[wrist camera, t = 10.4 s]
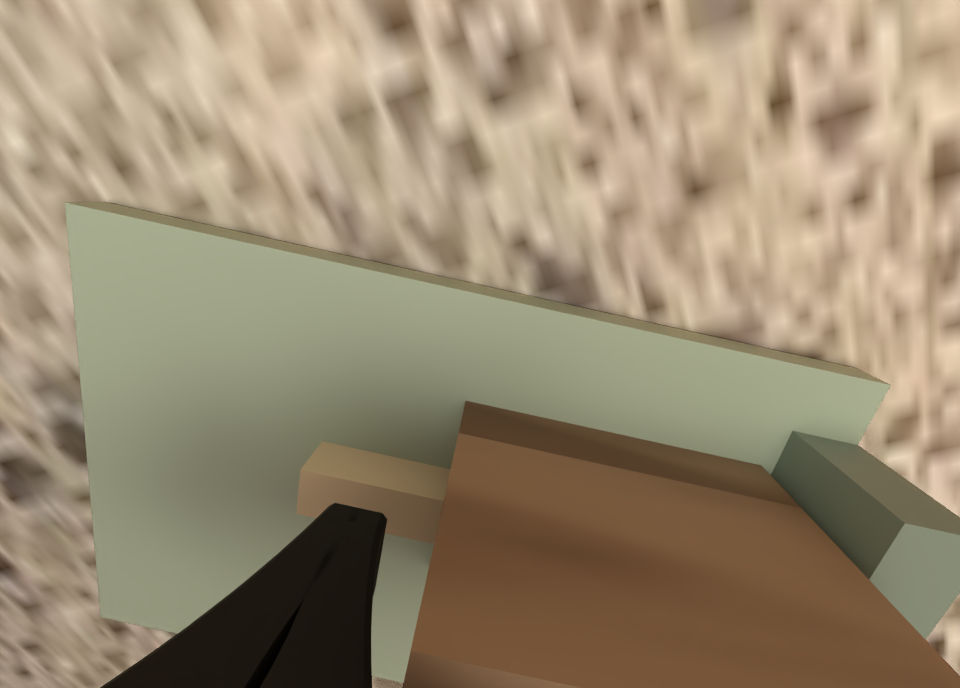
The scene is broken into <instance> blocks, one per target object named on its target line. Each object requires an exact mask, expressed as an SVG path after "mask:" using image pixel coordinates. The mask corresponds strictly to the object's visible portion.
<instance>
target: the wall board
mask: <svg viewBox="0 0 960 688" xmlns="http://www.w3.org/2000/svg"><path fill="white" fill-rule="evenodd" d="M65 209H66V221H67V232H68V244H69V255H70V267H71V278H72V290H73V302H74V313H75V325H76V336H77V348H78V360H79V371H80V383H81V394H82V406H83V417H84V429H85V441H86V452H87V464H88V475H89V487H90V499H91V510H92V522H93V533H94V545H95V556H96V568H97V580H98V591H99V603H100V614H101V617H102V618H107V619H111V620H116V621H121V622H125V623H130V624H134V625H139V626H144V627H148V628H153V629H157V630H162V631H167V632H171V633H176V634H178V633H179V632H181V631H182V630H183V629H185V628H186V627H187V626H189V625H190V624H191V623H192V622H194V621H195V620H196V619H198V618H199V617H200V616H202V615H203V614H204V613H205V612H207V611H208V610H209V609H211V608H212V607H213V606H214V605H216V604H217V603H218V602H220V601H221V600H222V599H223V598H225V597H226V596H227V595H229V594H230V593H231V592H232V591H234V590H235V589H236V588H237V587H239V586H240V585H241V584H242V583H244V582H245V581H246V580H247V579H248V578H249V577H251V576H252V575H253V574H254V573H255V572H257V571H258V570H259V569H260V568H261V567H262V566H264V565H265V564H266V563H267V562H268V561H270V560H271V559H272V558H273V557H274V556H275V555H277V554H278V553H279V552H280V551H281V550H282V549H283V548H285V547H286V546H287V545H288V544H289V543H290V542H291V541H292V540H293V539H295V538H296V537H297V536H298V535H299V534H300V533H301V532H302V531H303V530H304V529H305V528H307V527H308V526H309V525H310V524H311V523H312V522H313V521H314V520H315V519H316V518H317V517H318V516H319V515H320V514H321V513H322V512H323V511H324V510H325V509H326V508H327V507H328V506H330V505H332V504H333V503H339V504H343V505H348V506H352V507H357V508H362V509H366V510H371V511H375V512H380V513H383V514H384V516H385V517H386V518H387V524H386V530H385V536H384V541H383V547H382V553H381V559H380V564H379V570H378V576H377V582H376V587H375V592H374V595H373V603H372V624H371V667H372V676H374V677H378V678H383V679H388V680H392V681H397V682H401V683H404V678H405V674H406V669H407V665H408V660H409V656H410V651H411V647H412V642H413V637H414V633H415V628H416V624H417V619H418V615H419V610H420V606H421V601H422V597H423V592H424V588H425V583H426V578H427V574H428V569H429V565H430V560H431V556H432V551H433V547H434V542H435V538H436V533H437V528H438V524H439V519H440V515H441V510H442V506H443V501H444V497H445V492H446V488H447V483H448V479H449V474H450V469H451V465H452V460H453V456H454V451H455V447H456V442H457V438H458V433H459V429H460V424H461V419H462V415H463V410H464V406H465V401H470V402H475V403H479V404H484V405H489V406H493V407H498V408H502V409H507V410H511V411H516V412H520V413H525V414H530V415H534V416H539V417H543V418H548V419H552V420H557V421H561V422H566V423H571V424H575V425H580V426H584V427H589V428H593V429H598V430H602V431H607V432H612V433H616V434H621V435H625V436H630V437H634V438H639V439H643V440H648V441H653V442H657V443H662V444H666V445H671V446H675V447H680V448H685V449H689V450H694V451H698V452H703V453H707V454H712V455H716V456H721V457H726V458H730V459H735V460H739V461H744V462H748V463H753V464H757V465H762V467H763V468H764V469H765V470H766V471H767V472H768V473H769V474H770V475H771V476H772V477H773V478H774V479H775V480H776V481H777V482H778V484H779V485H780V486H781V487H782V488H783V489H784V490H785V491H786V492H787V493H788V494H789V495H790V496H791V497H792V498H793V499H794V501H795V502H796V503H797V504H798V505H799V506H800V507H801V508H802V509H803V510H804V511H805V512H806V513H807V514H808V515H809V516H810V518H811V519H812V520H813V521H814V522H815V523H816V524H817V525H818V526H819V527H820V528H821V529H822V530H823V531H824V532H825V533H826V535H827V536H828V537H829V538H830V539H831V540H832V541H833V542H834V543H835V544H836V545H837V546H838V547H839V548H840V549H841V550H842V552H843V553H844V554H845V555H846V556H847V557H848V558H849V559H850V560H851V561H852V562H853V563H854V564H855V565H856V566H857V567H858V569H859V570H860V571H861V572H862V573H863V574H864V575H865V576H866V577H867V578H868V579H869V580H870V581H871V582H872V583H873V584H874V586H875V587H876V588H877V589H878V590H879V591H880V592H881V593H882V594H883V595H884V596H885V597H886V598H887V599H888V600H889V601H890V603H891V604H892V605H893V606H894V607H895V608H896V609H897V610H898V611H899V612H900V613H901V614H902V615H903V616H904V617H905V618H906V620H907V621H908V622H909V623H910V624H911V625H912V626H913V627H914V628H915V629H916V630H917V631H918V632H919V633H920V634H921V635H922V637H923V638H924V639H925V640H926V638H927V637H928V636H929V634H930V633H931V632H932V630H933V629H934V627H935V626H936V625H937V623H938V622H939V621H940V619H941V618H942V617H943V615H944V614H945V612H946V611H947V610H948V608H949V607H950V606H951V604H952V603H953V601H954V600H955V599H956V597H957V596H958V595H959V593H960V517H958V516H957V515H955V514H954V513H953V512H951V511H950V510H948V509H947V508H946V507H944V506H943V505H941V504H940V503H939V502H937V501H936V500H934V499H933V498H932V497H930V496H929V495H927V494H926V493H924V492H923V491H922V490H920V489H919V488H917V487H916V486H915V485H913V484H912V483H910V482H909V481H908V480H906V479H905V478H903V477H902V476H901V475H899V474H898V473H896V472H895V471H894V470H892V469H891V468H889V467H888V466H886V465H885V464H884V463H882V462H881V461H879V460H878V459H877V458H875V457H874V456H872V455H871V454H870V453H868V452H867V451H865V450H864V449H863V448H861V447H860V446H858V444H859V442H860V440H861V438H862V436H863V435H864V433H865V431H866V429H867V427H868V426H869V424H870V422H871V420H872V418H873V417H874V415H875V413H876V411H877V409H878V408H879V406H880V404H881V402H882V400H883V399H884V397H885V395H886V393H887V391H888V390H889V388H890V386H891V385H890V384H888V383H886V382H884V381H882V380H880V379H877V378H875V377H873V376H871V375H869V374H867V373H865V372H863V371H861V370H859V369H857V368H853V367H849V366H844V365H840V364H835V363H831V362H826V361H822V360H817V359H813V358H808V357H804V356H799V355H795V354H790V353H785V352H781V351H776V350H772V349H767V348H763V347H758V346H754V345H749V344H745V343H740V342H736V341H731V340H727V339H722V338H718V337H713V336H709V335H704V334H700V333H695V332H691V331H686V330H681V329H677V328H672V327H668V326H663V325H659V324H654V323H650V322H645V321H641V320H636V319H632V318H627V317H623V316H618V315H614V314H609V313H605V312H600V311H596V310H591V309H586V308H582V307H577V306H573V305H568V304H564V303H559V302H555V301H550V300H546V299H541V298H537V297H532V296H528V295H523V294H519V293H514V292H510V291H505V290H501V289H496V288H492V287H487V286H482V285H478V284H473V283H469V282H464V281H460V280H455V279H451V278H446V277H442V276H437V275H433V274H428V273H424V272H419V271H415V270H410V269H406V268H401V267H397V266H392V265H387V264H383V263H378V262H374V261H369V260H365V259H360V258H356V257H351V256H347V255H342V254H338V253H333V252H329V251H324V250H320V249H315V248H311V247H306V246H302V245H297V244H293V243H288V242H283V241H279V240H274V239H270V238H265V237H261V236H256V235H252V234H247V233H243V232H238V231H234V230H229V229H225V228H220V227H216V226H211V225H207V224H202V223H198V222H193V221H189V220H184V219H179V218H175V217H170V216H166V215H161V214H157V213H152V212H148V211H143V210H139V209H134V208H130V207H125V206H121V205H116V204H112V203H107V202H69V203H65Z"/></svg>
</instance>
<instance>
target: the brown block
mask: <svg viewBox="0 0 960 688" xmlns="http://www.w3.org/2000/svg"><path fill="white" fill-rule="evenodd" d="M403 688H960V676H959V675H958V674H957V673H956V672H955V671H954V669H953V668H952V667H951V666H950V665H949V664H948V663H947V662H946V661H945V660H944V659H943V658H942V657H941V656H940V655H939V654H938V652H937V651H936V650H935V649H934V648H933V647H932V646H931V645H930V644H929V643H928V642H927V641H926V640H925V639H924V638H923V637H922V635H921V634H920V633H919V632H918V631H917V630H916V629H915V628H914V627H913V626H912V625H911V624H910V623H909V622H908V621H907V620H906V618H905V617H904V616H903V615H902V614H901V613H900V612H899V611H898V610H897V609H896V608H895V607H894V606H893V605H892V604H891V603H890V601H889V600H888V599H887V598H886V597H885V596H884V595H883V594H882V593H881V592H880V591H879V590H878V589H877V588H876V587H875V586H874V584H873V583H872V582H871V581H870V580H869V579H868V578H867V577H866V576H865V575H864V574H863V573H862V572H861V571H860V570H859V569H858V567H857V566H856V565H855V564H854V563H853V562H852V561H851V560H850V559H849V558H848V557H847V556H846V555H845V554H844V553H843V552H842V550H841V549H840V548H839V547H838V546H837V545H836V544H835V543H834V542H833V541H832V540H831V539H830V538H829V537H828V536H827V535H826V533H825V532H824V531H823V530H822V529H821V528H820V527H819V526H818V525H817V524H816V523H815V522H814V521H813V520H812V519H811V518H810V516H809V515H808V514H807V513H806V512H805V511H804V510H803V509H802V508H801V507H800V506H799V505H798V504H797V503H796V502H795V501H794V499H793V498H792V497H791V496H790V495H789V494H788V493H787V492H786V491H785V490H784V489H783V488H782V487H781V486H780V485H779V484H778V482H777V481H776V480H775V479H774V478H773V477H772V476H771V475H770V474H769V473H768V472H767V471H766V470H765V469H764V468H763V467H762V465H757V464H753V463H748V462H744V461H739V460H735V459H730V458H726V457H721V456H716V455H712V454H707V453H703V452H698V451H694V450H689V449H685V448H680V447H675V446H671V445H666V444H662V443H657V442H653V441H648V440H643V439H639V438H634V437H630V436H625V435H621V434H616V433H612V432H607V431H602V430H598V429H593V428H589V427H584V426H580V425H575V424H571V423H566V422H561V421H557V420H552V419H548V418H543V417H539V416H534V415H530V414H525V413H520V412H516V411H511V410H507V409H502V408H498V407H493V406H489V405H484V404H479V403H475V402H470V401H465V406H464V410H463V415H462V419H461V424H460V429H459V433H458V438H457V442H456V447H455V451H454V456H453V460H452V465H451V469H450V474H449V479H448V483H447V488H446V492H445V497H444V501H443V506H442V510H441V515H440V519H439V524H438V528H437V533H436V538H435V542H434V547H433V551H432V556H431V560H430V565H429V569H428V574H427V578H426V583H425V588H424V592H423V597H422V601H421V606H420V610H419V615H418V619H417V624H416V628H415V633H414V637H413V642H412V647H411V651H410V656H409V660H408V665H407V669H406V674H405V678H404V683H403Z"/></svg>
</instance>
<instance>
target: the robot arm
mask: <svg viewBox="0 0 960 688" xmlns="http://www.w3.org/2000/svg"><path fill="white" fill-rule="evenodd" d="M386 524H387V518H386V517H385V516H384V514H383V513H380V512H375V511H371V510H366V509H362V508H357V507H352V506H348V505H343V504H339V503H333V504H332V505H330V506H328V507H327V508H326V509H325V510H324V511H323V512H322V513H321V514H320V515H319V516H318V517H317V518H316V519H315V520H314V521H313V522H312V523H311V524H310V525H309V526H308V527H307V528H305V529H304V530H303V531H302V532H301V533H300V534H299V535H298V536H297V537H296V538H295V539H293V540H292V541H291V542H290V543H289V544H288V545H287V546H286V547H285V548H283V549H282V550H281V551H280V552H279V553H278V554H277V555H275V556H274V557H273V558H272V559H271V560H270V561H268V562H267V563H266V564H265V565H264V566H262V567H261V568H260V569H259V570H258V571H257V572H255V573H254V574H253V575H252V576H251V577H249V578H248V579H247V580H246V581H245V582H244V583H242V584H241V585H240V586H239V587H237V588H236V589H235V590H234V591H232V592H231V593H230V594H229V595H227V596H226V597H225V598H223V599H222V600H221V601H220V602H218V603H217V604H216V605H214V606H213V607H212V608H211V609H209V610H208V611H207V612H205V613H204V614H203V615H202V616H200V617H199V618H198V619H196V620H195V621H194V622H192V623H191V624H190V625H189V626H187V627H186V628H185V629H183V630H182V631H181V632H179V633H178V634H176V635H175V636H174V637H172V638H171V639H170V640H168V641H167V642H165V643H164V644H163V645H161V646H160V647H159V648H157V649H156V650H154V651H153V652H151V653H150V654H149V655H147V656H146V657H144V658H143V659H142V660H140V661H139V662H137V663H136V664H134V665H133V666H131V667H130V668H128V669H127V670H125V671H124V672H123V673H121V674H120V675H118V676H117V677H115V678H114V679H112V680H111V681H109V682H108V683H106V684H105V685H103V686H102V687H100V688H372V667H371V624H372V603H373V595H374V592H375V587H376V582H377V576H378V570H379V564H380V559H381V553H382V547H383V541H384V536H385V530H386Z"/></svg>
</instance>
